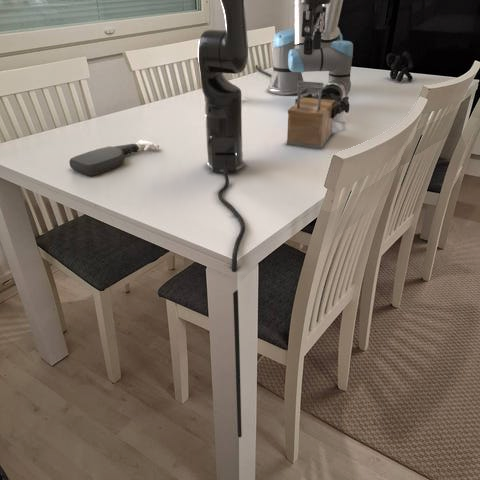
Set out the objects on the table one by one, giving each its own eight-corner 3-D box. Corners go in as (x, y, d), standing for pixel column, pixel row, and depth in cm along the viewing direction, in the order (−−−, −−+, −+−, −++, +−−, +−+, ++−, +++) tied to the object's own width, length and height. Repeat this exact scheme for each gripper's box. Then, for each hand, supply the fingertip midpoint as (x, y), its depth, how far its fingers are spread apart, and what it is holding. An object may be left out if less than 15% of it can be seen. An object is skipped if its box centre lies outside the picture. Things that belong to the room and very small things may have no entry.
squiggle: (400, 92, 202) (376, 71, 205) (417, 76, 202) (392, 56, 205) (405, 81, 191) (380, 59, 194) (423, 64, 191) (397, 42, 194)
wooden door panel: (322, 117, 124) (325, 86, 120) (287, 113, 128) (288, 83, 123) (334, 103, 136) (337, 74, 131) (302, 100, 139) (304, 72, 135)
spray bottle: (67, 168, 120) (139, 144, 136) (91, 178, 114) (163, 151, 130) (65, 157, 118) (137, 134, 134) (89, 167, 112) (162, 142, 128)
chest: (320, 148, 129) (323, 117, 125) (286, 144, 133) (288, 113, 128) (331, 133, 141) (334, 103, 136) (300, 129, 144) (302, 100, 139)
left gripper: (309, -19, 118) (306, 47, 127) (293, -17, 107) (290, 55, 116) (338, -19, 116) (332, 48, 124) (324, -17, 105) (319, 57, 113)
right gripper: (364, 108, 151) (351, 128, 134) (299, 102, 159) (279, 120, 142) (367, 86, 148) (354, 103, 130) (300, 81, 155) (280, 96, 138)
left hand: (312, 51), depth 120 cm, fingers open, 8 cm apart
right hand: (315, 112), depth 136 cm, fingers closed on chest, 10 cm apart
